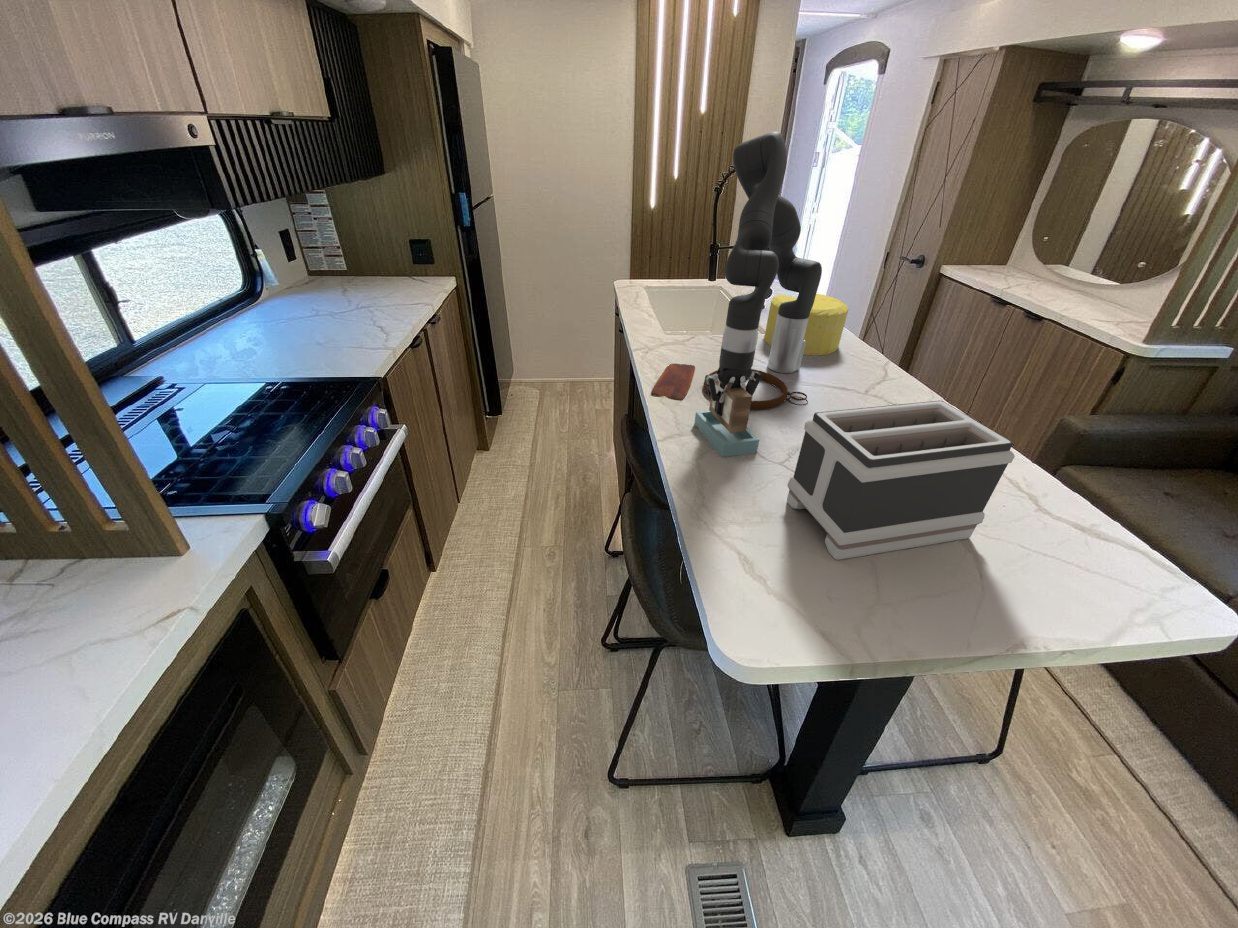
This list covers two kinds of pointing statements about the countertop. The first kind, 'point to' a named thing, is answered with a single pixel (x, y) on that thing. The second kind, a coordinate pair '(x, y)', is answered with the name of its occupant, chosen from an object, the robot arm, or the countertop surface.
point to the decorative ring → (773, 402)
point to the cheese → (814, 323)
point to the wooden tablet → (674, 381)
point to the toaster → (896, 476)
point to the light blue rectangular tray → (725, 436)
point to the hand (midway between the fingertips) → (727, 413)
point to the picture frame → (734, 409)
